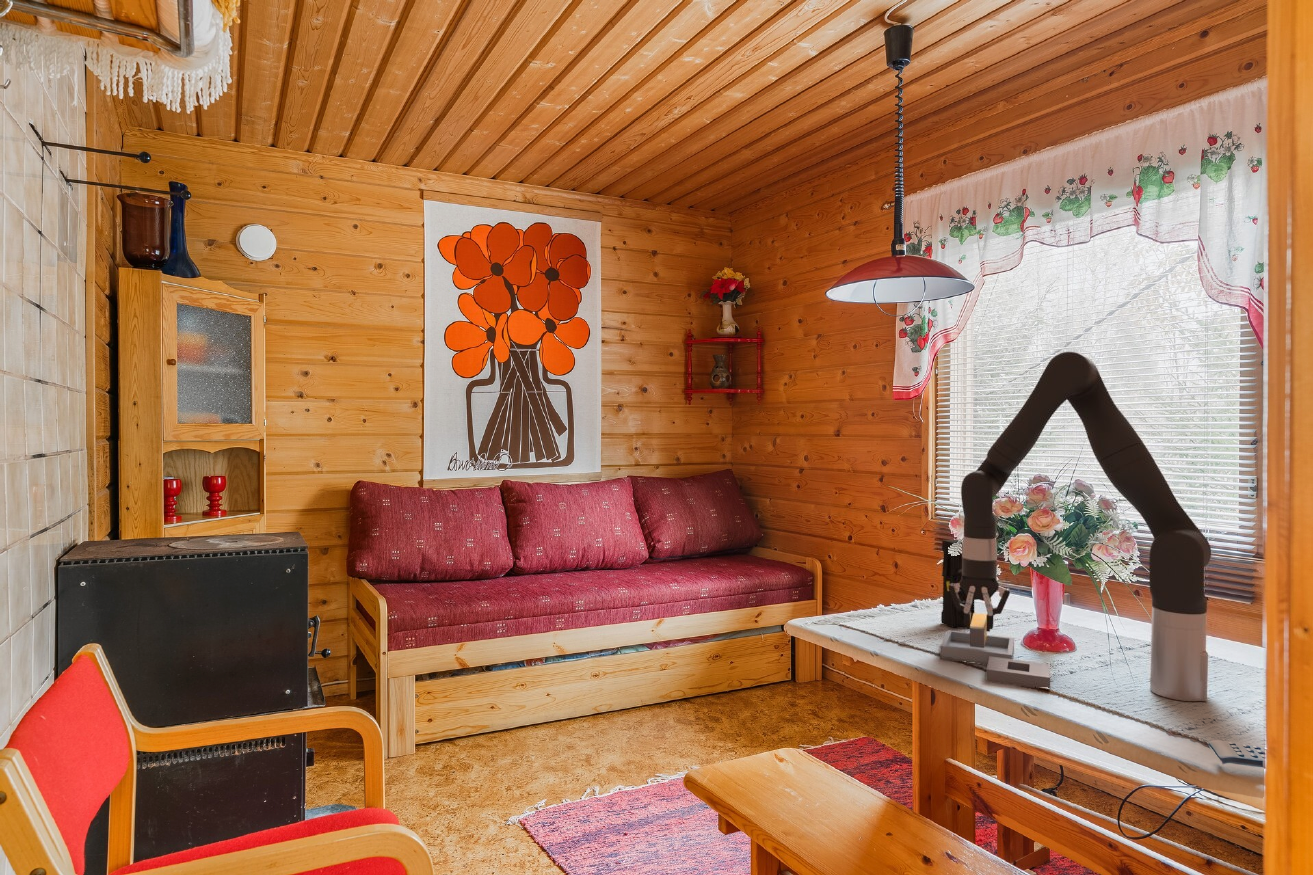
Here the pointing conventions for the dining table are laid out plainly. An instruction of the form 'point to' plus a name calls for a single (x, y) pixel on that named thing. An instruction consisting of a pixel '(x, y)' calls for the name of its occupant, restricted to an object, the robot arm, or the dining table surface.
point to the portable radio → (950, 575)
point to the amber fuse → (978, 630)
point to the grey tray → (975, 648)
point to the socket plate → (1018, 672)
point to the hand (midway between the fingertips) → (978, 629)
